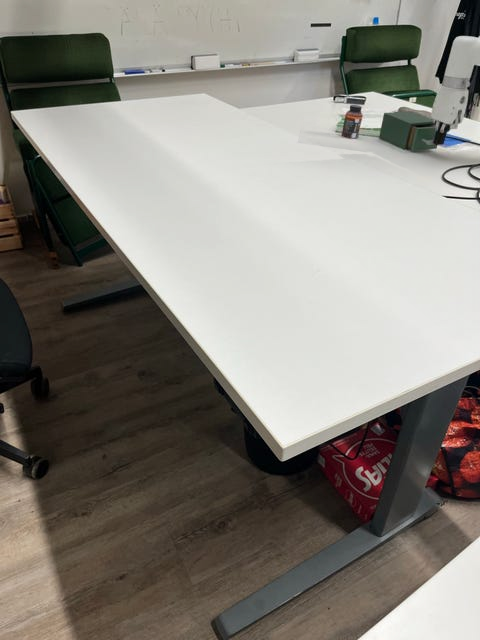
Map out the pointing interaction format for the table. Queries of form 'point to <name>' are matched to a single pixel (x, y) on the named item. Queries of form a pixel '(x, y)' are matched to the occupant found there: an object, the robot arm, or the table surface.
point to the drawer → (422, 137)
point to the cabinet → (400, 127)
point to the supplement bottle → (352, 122)
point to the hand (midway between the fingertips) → (438, 143)
